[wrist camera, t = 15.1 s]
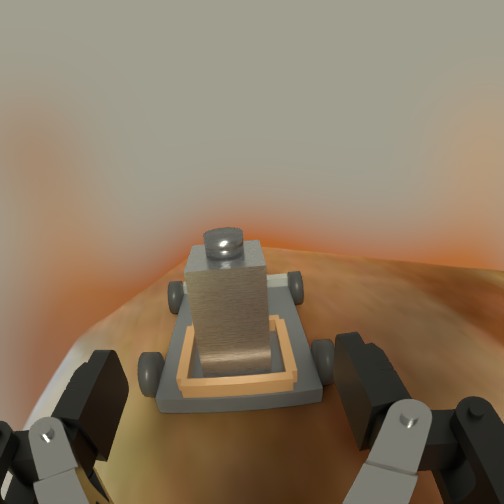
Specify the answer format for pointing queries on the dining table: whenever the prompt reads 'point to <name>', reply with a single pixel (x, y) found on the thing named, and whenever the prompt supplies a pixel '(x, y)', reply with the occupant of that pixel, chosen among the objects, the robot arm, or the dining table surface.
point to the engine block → (229, 304)
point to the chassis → (240, 387)
